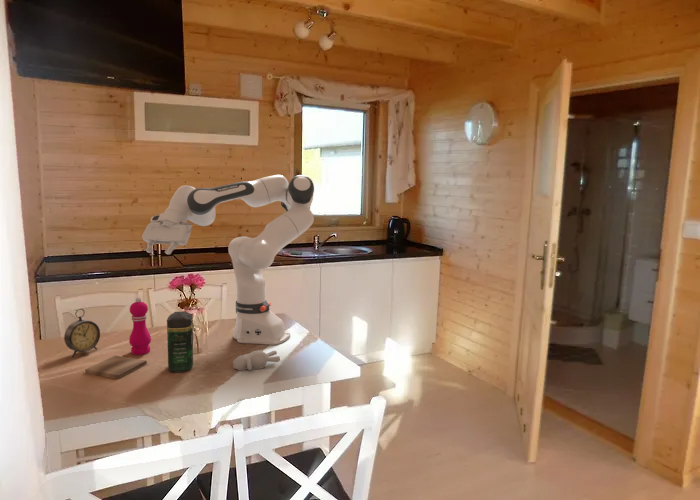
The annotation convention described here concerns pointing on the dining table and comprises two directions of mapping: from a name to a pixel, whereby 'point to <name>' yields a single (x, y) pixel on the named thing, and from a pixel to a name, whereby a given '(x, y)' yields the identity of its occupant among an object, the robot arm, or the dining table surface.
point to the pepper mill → (139, 329)
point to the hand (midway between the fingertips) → (157, 252)
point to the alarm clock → (82, 335)
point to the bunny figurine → (254, 360)
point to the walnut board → (116, 367)
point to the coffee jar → (180, 341)
